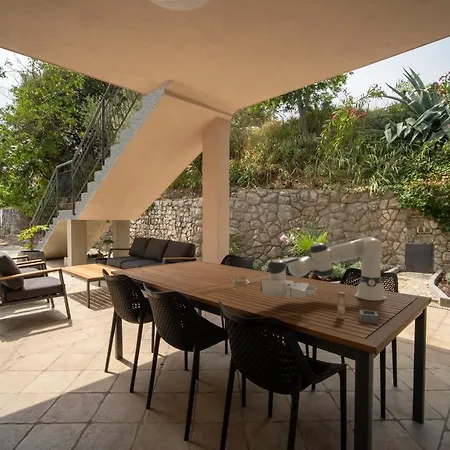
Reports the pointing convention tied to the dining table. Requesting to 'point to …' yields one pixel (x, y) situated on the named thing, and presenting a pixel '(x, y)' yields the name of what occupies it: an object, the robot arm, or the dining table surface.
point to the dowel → (341, 305)
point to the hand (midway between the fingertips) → (316, 290)
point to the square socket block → (368, 316)
